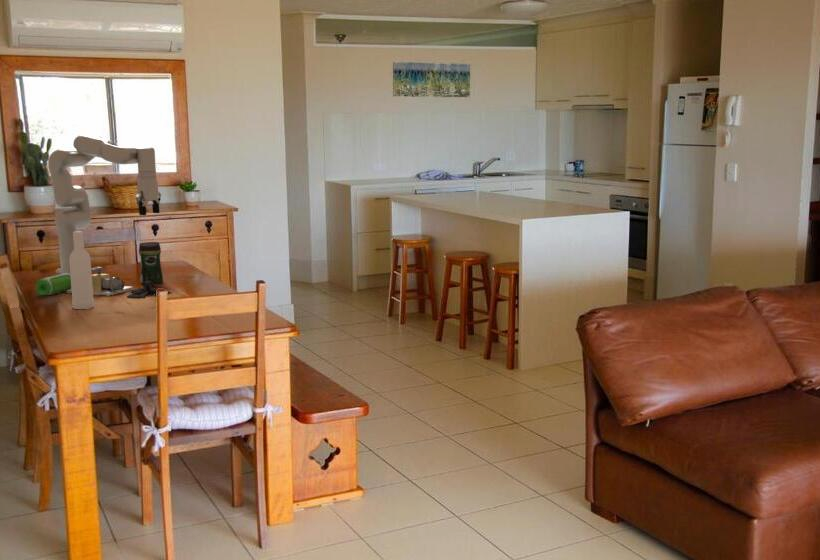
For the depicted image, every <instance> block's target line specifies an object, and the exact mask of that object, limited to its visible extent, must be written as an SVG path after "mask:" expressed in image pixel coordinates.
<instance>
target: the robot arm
mask: <svg viewBox="0 0 820 560" xmlns="http://www.w3.org/2000/svg"><path fill="white" fill-rule="evenodd" d="M95 158H100V159H102V160H104V161H106V162H110V163H114V164H118V165H134V164H137V174H138V175H137V176H138V179H137V184H136V195H135V197H134V198H135V201H136V204H137V206H138V213H139V214H138V215H139V216H147V208H146V207H147V206H146V203H147V202H151V203H152V204H151V205H152V207H151V208H152V213H153V214H160V203H161V197H162V194H161V192H159V186H158V181H157V169H156V168H157V167H156V166H157V165H156V151H155V149H154V147H151V146H144V147H143V146H142V147H141V146H117V145H112V143H111V141H110V140H108V139H105V138H102V137H101V136H100V135H98V134H81V135H77V136H76V137H75V138H74V140H73V147H72V148H71V147H70V148H69V147H68V148H67V147H65V148H59V149H56V150H54V151H53V152H52V153H51V154H50V155H49V157H48V161H47V166H48V170H49V174H50V178H51V181H52V182H51V183H52V188H53V189H52V190H53V196H54V200H55V201H54V202H55V203H56V205H57V206H58V207H60V208H71V209H65V210H62V211H60V212H58V213H57V214H56V216H55V218H54V224H55V228H56V232H57V236H58V245H59V258H60V259H59V260H60V268H59V267H58V268H57V269H56V270H55V273H56V274H63V273H70V264H69V258H70V254H71V253H72V252H73V251H74V240H73V232H75V231H79V230H83V229H86V228H88V227H89V226H90V225H91V222H92V214H91V208H90V199H89V196H88V192H87V191H86V189H85V188H83V187H82V186H80V185H74V184H73V179H72V176H71V174H70V171H69V170H68V169H67V168H74V167H75V168H76V167H83V166H85V165H87V164H89V163H90V162H91V161H92V160H94V159H95Z"/></svg>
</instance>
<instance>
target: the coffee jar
mask: <svg viewBox="0 0 820 560" xmlns="http://www.w3.org/2000/svg"><path fill="white" fill-rule="evenodd" d="M138 245H139V246H138V254H139V256H140V283H141V284H143V285H145V282H146V281H151V282H152V283H153V284H154V285H156V284H161V283H163V282H164V278H163V270H162V265H161V264H162V263H161V253H162V249H161V245H160V242H158V241H145V242H140V243H139V244H138Z"/></svg>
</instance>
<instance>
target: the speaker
mask: <svg viewBox="0 0 820 560" xmlns="http://www.w3.org/2000/svg"><path fill="white" fill-rule="evenodd" d="M70 289H71V277H70V273H63V274H60V273H58V274H56V275H52V276H47V277H44V278H41V279H39V280H38V281H37V282H36V284H35V290H36V292H37V293H38V294H39V296H40V295H41V296H50V294H52V295H55V294H54V293H57V294H59V293H58V292H61V293H63V292H62V291H64V292H66V290H70Z"/></svg>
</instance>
